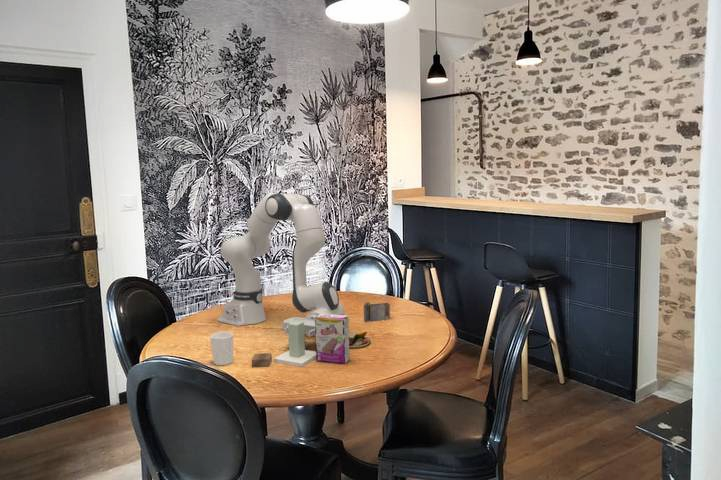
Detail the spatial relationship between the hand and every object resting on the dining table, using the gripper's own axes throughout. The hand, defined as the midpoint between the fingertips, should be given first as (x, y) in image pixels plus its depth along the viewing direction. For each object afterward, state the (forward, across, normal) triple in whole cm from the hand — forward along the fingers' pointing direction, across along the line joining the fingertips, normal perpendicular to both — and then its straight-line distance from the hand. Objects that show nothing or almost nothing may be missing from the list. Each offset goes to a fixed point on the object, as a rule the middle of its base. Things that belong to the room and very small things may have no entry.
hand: (297, 332), depth 190 cm
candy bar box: (-2, +13, +10) cm, 16 cm away
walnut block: (+10, -9, +10) cm, 16 cm away
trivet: (+1, 0, +9) cm, 9 cm away
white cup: (+14, -23, +10) cm, 28 cm away
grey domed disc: (-9, -6, +10) cm, 15 cm away
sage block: (+1, 0, +8) cm, 8 cm away
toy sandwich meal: (-21, +11, +10) cm, 26 cm away
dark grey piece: (-53, +7, +10) cm, 54 cm away
